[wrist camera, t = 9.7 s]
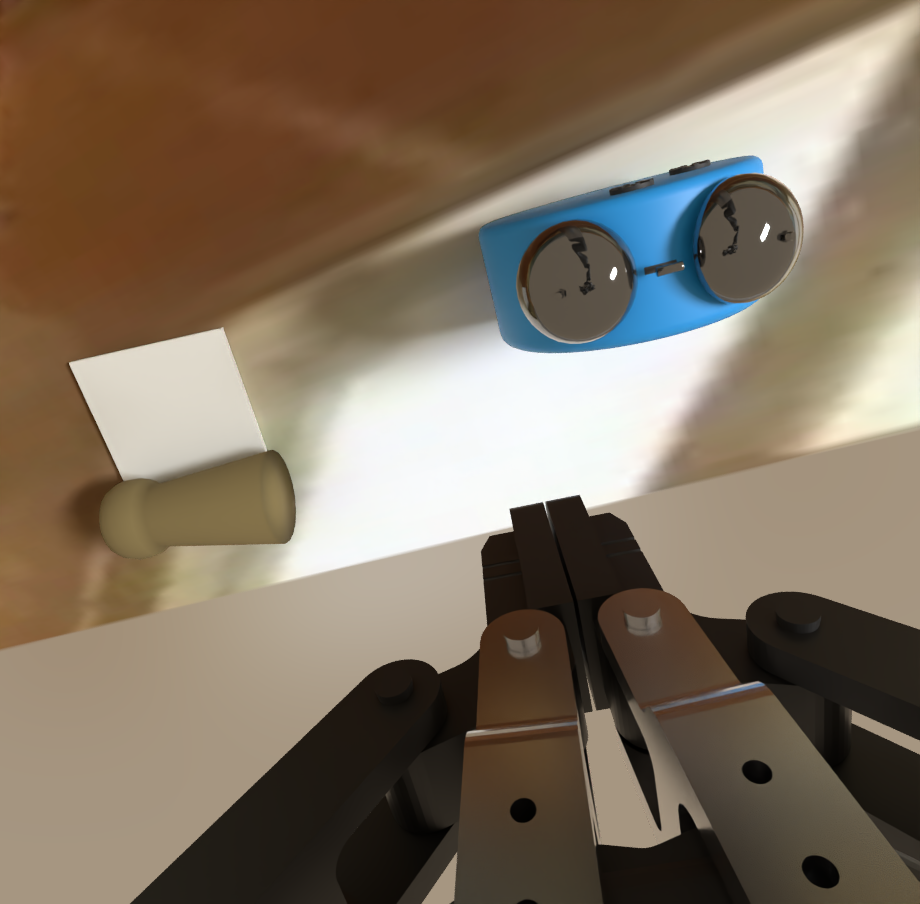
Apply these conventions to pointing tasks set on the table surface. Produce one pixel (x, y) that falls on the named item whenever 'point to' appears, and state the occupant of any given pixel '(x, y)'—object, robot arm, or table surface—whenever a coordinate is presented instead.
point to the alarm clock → (641, 257)
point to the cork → (202, 508)
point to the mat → (171, 406)
